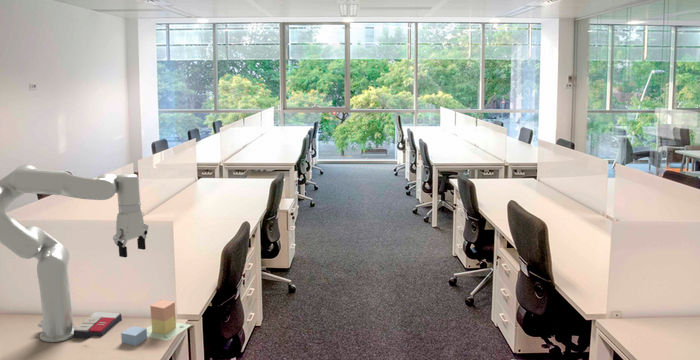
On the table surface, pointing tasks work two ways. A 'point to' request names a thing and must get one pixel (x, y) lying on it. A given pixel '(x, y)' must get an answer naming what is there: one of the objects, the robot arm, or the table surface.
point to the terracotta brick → (162, 310)
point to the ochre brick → (163, 325)
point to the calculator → (97, 325)
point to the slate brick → (134, 335)
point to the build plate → (169, 335)
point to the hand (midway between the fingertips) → (132, 252)
